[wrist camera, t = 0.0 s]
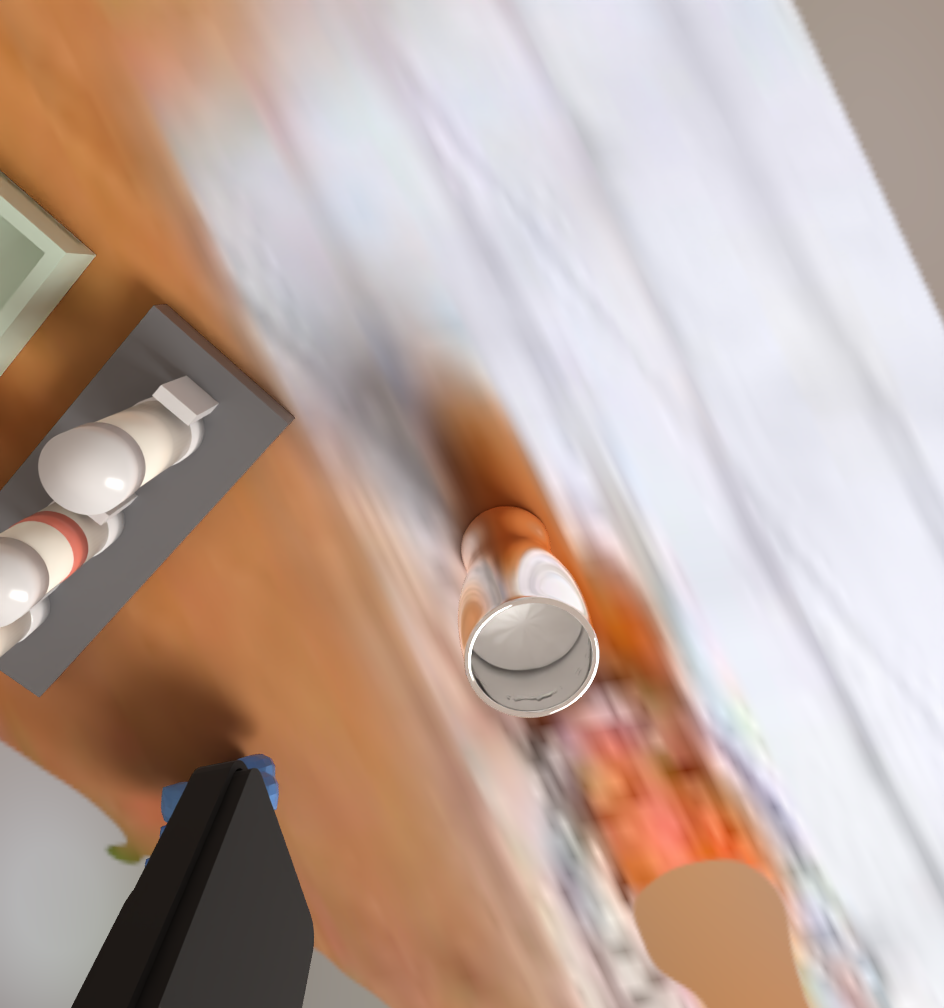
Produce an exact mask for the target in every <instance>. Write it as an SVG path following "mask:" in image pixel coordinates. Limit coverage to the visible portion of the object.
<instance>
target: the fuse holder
mask: <svg viewBox="0 0 944 1008" xmlns="http://www.w3.org/2000/svg"><path fill="white" fill-rule="evenodd" d="M150 397H154V398H156V399H157V400H158V401H159V402H160V403H162V404H163V405H164V406H165V407H166V408H167V409H169V410H170V411H171V412H172V413H173V414H175V415H176V416H177V417H178V418H179V419H180V420H182V421H183V422H184V423H185V424H186V425H188V426H189V425H190V424H192V423H194V422H196V421H197V420H199V419H201V418H202V419H203V422H204V437H203V440H202V443H201V445H200V446H199V447H198V449H197V450H196V451H195V452H193V453H192V454H191V455H189V456H188V457H186V458H185V459H183V460H182V461H180V462H179V463H177V464H175V465H172V466H170V467H169V468H167V469H166V470H164V471H163V472H161V473H160V474H158V475H157V476H155V477H154V478H153V479H151V480H150V481H148V482H147V483H145V484H144V485H142V486H141V487H139V489H138V490H137V491H136V492H135V493H134V494H133V495H131V496H130V497H129V498H127V499H126V500H124V501H123V502H121V503H120V504H118V505H117V506H116V507H114V508H113V509H111V510H109V511H107V512H104V513H101V514H97V515H88V516H89V517H90V518H92V519H93V520H94V521H95V522H97V523H98V524H99V525H102V524H104V523H105V522H106V521H108V520H109V519H111V518H112V517H113V516H115V515H116V514H118V513H119V512H120V511H122V510H123V513H124V519H125V524H124V529H123V532H122V534H121V535H120V537H119V538H118V539H117V540H116V541H115V542H113V543H112V544H111V545H110V546H108V547H107V548H106V549H105V550H103V551H102V552H101V553H99V554H98V555H96V556H94V557H92V558H91V559H89V560H88V561H87V562H85V563H84V564H83V565H82V566H81V567H80V568H79V569H78V570H77V571H76V572H74V573H73V574H72V575H71V576H69V577H68V578H67V579H66V580H64V581H63V582H61V583H59V584H58V585H56V586H55V587H54V588H53V589H51V590H50V591H49V592H48V593H46V594H45V596H44V597H43V598H42V599H41V600H40V601H39V602H41V601H42V600H43V599H44V598H46V597H47V596H48V598H49V601H50V612H49V615H48V617H47V619H46V620H45V621H44V622H43V623H42V624H41V625H40V626H39V627H38V628H37V629H35V630H34V631H33V632H32V633H31V634H30V635H28V636H27V637H26V638H25V639H24V640H22V641H20V642H18V643H17V644H15V645H14V646H13V647H12V648H11V649H9V650H8V651H7V652H6V653H5V654H4V655H2V656H1V657H0V671H2V672H3V673H5V674H6V675H8V676H9V677H10V678H12V679H13V680H15V681H16V682H18V683H19V684H21V685H22V686H24V687H25V688H26V689H28V690H29V691H31V692H32V693H34V694H35V695H37V696H38V697H40V696H41V695H42V694H43V693H44V692H45V691H46V690H47V689H48V688H49V687H50V686H51V685H52V684H53V683H54V682H55V681H56V680H57V679H58V677H59V676H60V675H61V674H62V673H63V672H64V671H65V670H66V669H67V668H68V666H69V665H70V664H71V663H72V662H73V661H74V660H75V659H76V658H77V657H78V656H79V654H80V653H81V652H82V651H83V650H84V649H85V648H86V647H87V646H88V645H89V643H90V642H91V641H92V640H93V639H94V638H95V637H96V636H97V635H98V634H99V632H100V631H101V630H102V629H103V628H104V627H105V626H106V625H107V624H108V623H109V622H110V620H111V619H112V618H113V617H114V616H115V615H116V614H117V613H118V612H119V611H120V609H121V608H122V607H123V606H124V605H125V604H126V603H127V602H128V601H129V600H130V598H131V597H132V596H133V595H134V594H135V593H136V592H137V591H138V590H139V589H140V588H141V586H142V585H143V584H144V583H145V582H146V581H147V580H148V579H149V578H150V577H151V575H152V574H153V573H154V572H155V571H156V570H157V569H158V568H159V567H160V566H161V564H162V563H163V562H164V561H165V560H166V559H167V558H168V557H169V556H170V555H171V554H172V552H173V551H174V550H175V549H176V548H177V547H178V546H179V545H180V544H181V543H182V541H183V540H184V539H185V538H186V537H187V536H188V535H189V534H190V533H191V532H192V531H193V529H194V528H195V527H196V526H197V525H198V524H199V523H200V522H201V521H202V520H203V518H204V517H205V516H206V515H207V514H208V513H209V512H210V511H211V510H212V509H213V507H214V506H215V505H216V504H217V503H218V502H219V501H220V500H221V499H222V498H223V497H224V495H225V494H226V493H227V492H228V491H229V490H230V489H231V488H232V487H233V486H234V484H235V483H236V482H237V481H238V480H239V479H240V478H241V477H242V476H243V475H244V473H245V472H246V471H247V470H248V469H249V468H250V467H251V466H252V465H253V464H254V463H255V461H256V460H257V459H258V458H259V457H260V456H261V455H262V454H263V453H264V452H265V450H266V449H267V448H268V447H269V446H270V445H271V444H272V443H273V442H274V441H275V439H276V438H277V437H278V436H279V435H280V434H281V433H282V432H283V431H284V430H285V429H286V427H287V426H288V425H289V424H290V423H291V422H292V421H293V420H294V419H295V418H294V417H293V416H292V415H291V414H290V413H289V412H288V411H286V410H285V409H284V408H283V407H282V406H281V405H280V404H279V403H277V402H276V401H275V400H274V399H273V398H272V397H271V396H269V395H268V394H267V393H266V392H265V391H264V390H263V389H262V388H260V387H259V386H258V385H257V384H256V383H255V382H254V381H253V380H251V379H250V378H249V377H248V376H247V375H246V374H245V373H244V372H242V371H241V370H240V369H239V368H238V367H237V366H236V365H235V364H233V363H232V362H231V361H230V360H229V359H228V358H227V357H226V356H224V355H223V354H222V353H221V352H220V351H219V350H218V349H216V348H215V347H214V346H213V345H212V344H211V343H210V342H209V341H207V340H206V339H205V338H204V337H203V336H202V335H201V334H200V333H198V332H197V331H196V330H195V329H194V328H193V327H192V326H191V325H189V324H188V323H187V322H186V321H185V320H184V319H183V318H182V317H180V316H179V315H178V314H177V313H176V312H175V311H174V310H172V309H171V308H170V307H169V306H168V305H167V304H163V305H153V307H152V308H151V309H150V310H149V312H148V313H147V314H146V315H145V316H144V318H143V319H142V320H141V321H140V322H139V324H138V325H137V326H136V327H135V329H134V330H133V331H132V332H131V333H130V335H129V336H128V337H127V338H126V339H125V341H124V342H123V343H122V344H121V345H120V347H119V348H118V349H117V350H116V352H115V353H114V354H113V355H112V356H111V358H110V359H109V360H108V361H107V362H106V364H105V365H104V366H103V367H102V369H101V370H100V371H99V372H98V373H97V375H96V376H95V377H94V378H93V379H92V381H91V382H90V383H89V384H88V385H87V387H86V388H85V389H84V390H83V392H82V393H81V394H80V395H79V396H78V398H77V399H76V400H75V401H74V402H73V404H72V405H71V406H70V407H69V408H68V410H67V411H66V412H65V413H64V415H63V416H62V417H61V418H60V419H59V421H58V422H57V423H56V424H55V425H54V427H53V428H52V429H51V430H50V432H49V433H48V434H47V435H46V436H45V438H44V439H43V440H42V441H41V442H40V444H39V445H38V446H37V447H36V448H35V450H34V451H33V452H32V453H31V455H30V456H29V457H28V458H27V459H26V461H25V462H24V463H23V464H22V465H21V467H20V468H19V469H18V470H17V472H16V473H15V474H14V475H13V476H12V478H11V479H10V480H9V481H8V482H7V484H6V485H5V486H4V487H3V488H2V490H1V491H0V533H2V532H4V531H5V530H7V529H8V528H10V527H11V526H12V525H14V524H16V523H17V522H19V521H21V520H23V519H24V518H26V517H28V516H30V515H32V514H34V513H37V512H39V511H40V510H42V509H44V508H46V507H47V506H48V505H49V504H50V503H51V502H53V501H54V500H53V499H52V498H51V497H50V496H49V495H48V493H47V492H46V490H45V489H44V487H43V485H42V483H41V480H40V477H39V471H38V462H39V457H40V454H41V451H42V449H43V448H44V446H45V445H46V443H47V442H48V441H49V440H51V439H52V438H53V437H55V436H57V435H58V434H61V433H63V432H66V431H68V430H71V429H73V428H76V427H78V426H81V425H83V424H86V423H91V422H96V421H99V420H101V419H104V418H106V417H108V416H111V415H113V414H116V413H118V412H121V411H123V410H126V409H128V408H131V407H132V406H134V405H135V404H137V403H138V402H140V401H143V400H145V399H148V398H150ZM39 602H38V603H39ZM38 603H37V604H38ZM37 604H36V605H37ZM36 605H34V606H36ZM34 606H33V607H34ZM33 607H32V608H33ZM32 608H31V609H32ZM31 609H29V610H31ZM29 610H28V611H29ZM28 611H27V612H28ZM27 612H26V613H27ZM26 613H24V614H26ZM24 614H23V615H24ZM23 615H22V616H23ZM22 616H21V617H22ZM21 617H19V618H21Z"/></svg>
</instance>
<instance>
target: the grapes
mask: <svg viewBox="0 0 944 1008" xmlns="http://www.w3.org/2000/svg"><path fill="white" fill-rule="evenodd" d="M237 760H241V761H243V762H244V763H245V764H246V766H247V768H248V769H251V768H257V769H258V770H259V771H260V773H261V775H262V777H263V780H264V783H265V786H266V789H267V791H268V794H269V797H270V800H271V803H272V806H273V809H274V810H276V809H277V803H278V795H279V791H278V783H277V781H276V779H275V765H274V763H273V761H272V759H271V758H269V757H267V756H265V755H263V754H255V755H250V756H246V757H243V758H240V759H237ZM187 783H188V782H180V783H176V784H173V785H170V786H166V787H163V791H162V799H161V811H162V815H163V818H164V821H166V822H167V823H168V821H169V819H170V817H171V815H172V813H173V811H174V809H175V807H176V805H177V803H178V801H179V799H180V797H181V795H182V793H183V791H184V789H185V787H186V785H187ZM165 827H166V825H165V826H162V827H161V831H160V837H161V835H162V833H163V831H164V829H165ZM149 859H150V858H148V859H146V862H145V867H146V865H147V863H148V861H149Z"/></svg>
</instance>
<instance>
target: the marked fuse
mask: <svg viewBox="0 0 944 1008" xmlns="http://www.w3.org/2000/svg"><path fill="white" fill-rule="evenodd" d="M124 524H125V519H124V513H123V510H122V511H120V512H119V513H118V514H116V515H115V516H113V517H112V518H111V519H109V520H108V521H106V522H105V523H104V524H102V525H99V524H98V523H97V522H95V521H94V520H93V519H92V518H90V517H89V516H88V515H84V514H78V513H75V512H72V511H69V510H67V509H65V508H63V507H62V506H60V505H59V504H58V503H56V502H55V501H53V502H51V503H50V504H49V505H48V506H47V507H46V508H44V509H42V510H40V511H39V512H37V513H34V514H32V515H30V516H28V517H26V518H24V519H23V520H21V521H19V522H17V523H16V524H14V525H12V526H11V527H10V528H8V529H7V530H5V531H4V532H2V533H0V627H3V626H6V625H9V624H11V623H13V622H14V621H16V620H17V619H18V618H19V617H21V616H22V615H23V614H24V613H26V612H27V611H28V610H29V609H31V608H32V607H33V606H34V605H36V604H37V603H38V602H39V601H40V600H41V599H42V598H43V597H44V596H45V594H46V593H48V592H49V591H50V590H51V589H53V588H54V587H55V586H56V585H58V584H59V583H61V582H63V581H64V580H66V579H67V578H68V577H69V576H71V575H72V574H73V573H74V572H76V571H77V570H78V569H79V568H80V567H81V566H82V565H83V564H84V563H85V562H87V561H88V560H89V559H91V558H92V557H94V556H96V555H98V554H99V553H101V552H102V551H103V550H105V549H106V548H107V547H108V546H110V545H111V544H112V543H113V542H115V541H116V540H117V539H118V538H119V537H120V535H121V534H122V532H123V529H124Z"/></svg>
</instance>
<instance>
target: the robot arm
mask: <svg viewBox="0 0 944 1008" xmlns="http://www.w3.org/2000/svg"><path fill="white" fill-rule="evenodd" d="M313 946H314V929H313V922H312V918H311V914H310V912H309V909H308V906H307V903H306V900H305V897H304V894H303V892H302V889H301V886H300V883H299V880H298V877H297V874H296V872H295V869H294V866H293V863H292V860H291V857H290V854H289V852H288V849H287V846H286V843H285V840H284V837H283V834H282V832H281V829H280V826H279V823H278V820H277V817H276V814H275V812H274V809H273V806H272V803H271V800H270V797H269V794H268V791H267V789H266V786H265V783H264V780H263V777H262V775H261V773H260V771H259V770H258V769H257V768H251V769H248V768H247V766H246V764H245V763H244V762H243V761H241V760H234V761H229V762H224V763H219V764H214V765H209V766H204V767H200V768H197V769H196V770H195V771H194V773H193V774H192V776H191V778H190V780H189V782H188V783H187V785H186V787H185V789H184V791H183V793H182V795H181V797H180V799H179V801H178V803H177V805H176V807H175V809H174V811H173V813H172V815H171V817H170V819H169V821H168V823H167V825H166V827H165V829H164V831H163V833H162V835H161V837H160V839H159V841H158V843H157V845H156V847H155V849H154V851H153V853H152V855H151V857H150V859H149V861H148V863H147V865H146V867H145V869H144V871H143V873H142V875H141V877H140V878H139V880H138V882H137V884H136V886H135V888H134V890H133V891H132V893H131V894H130V895H129V897H128V899H127V900H126V901H125V903H124V905H123V907H122V909H121V911H120V913H119V915H118V917H117V919H116V921H115V923H114V925H113V927H112V929H111V930H110V933H109V935H108V936H107V938H106V940H105V942H104V944H103V946H102V948H101V950H100V952H99V954H98V956H97V958H96V960H95V962H94V964H93V966H92V968H91V970H90V972H89V974H88V976H87V978H86V980H85V981H84V984H83V985H82V987H81V989H80V991H79V993H78V995H77V997H76V999H75V1001H74V1003H73V1005H72V1007H71V1008H302V1004H303V999H304V994H305V989H306V984H307V978H308V973H309V968H310V963H311V958H312V953H313Z"/></svg>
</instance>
